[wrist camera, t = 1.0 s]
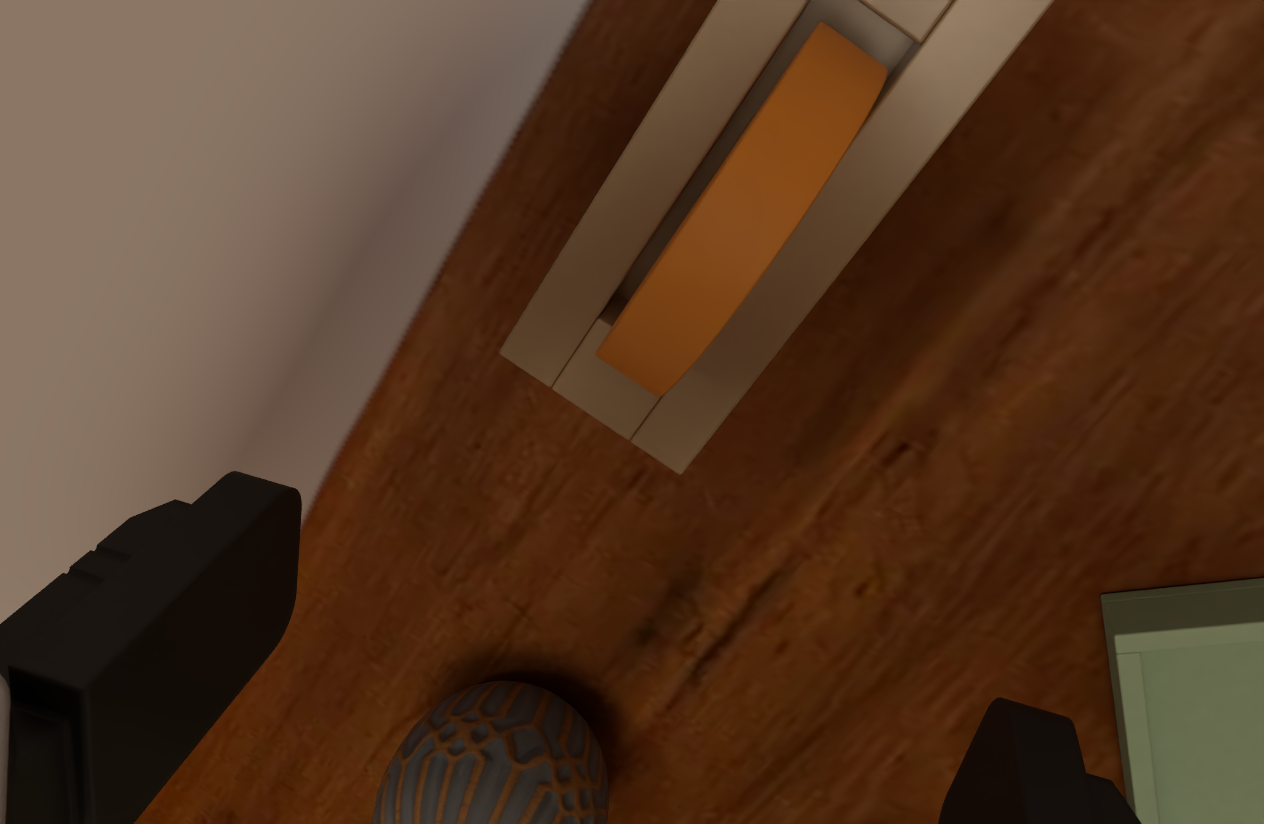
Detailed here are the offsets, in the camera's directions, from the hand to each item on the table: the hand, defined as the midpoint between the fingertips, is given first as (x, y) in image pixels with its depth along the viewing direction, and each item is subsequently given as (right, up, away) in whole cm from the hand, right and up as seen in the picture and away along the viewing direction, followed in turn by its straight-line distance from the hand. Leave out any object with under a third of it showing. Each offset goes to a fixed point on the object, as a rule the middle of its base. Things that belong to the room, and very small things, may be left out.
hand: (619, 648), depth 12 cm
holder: (+4, +10, +13) cm, 17 cm away
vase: (-3, -8, +24) cm, 25 cm away
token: (+2, +6, +4) cm, 7 cm away
